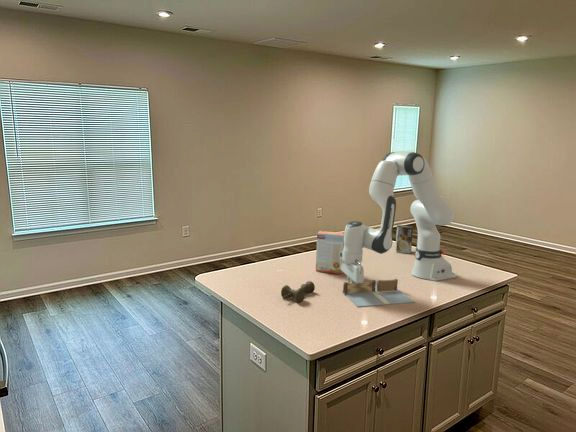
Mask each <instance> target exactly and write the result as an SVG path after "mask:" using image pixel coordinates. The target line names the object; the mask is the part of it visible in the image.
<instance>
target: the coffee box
mask: <svg viewBox="0 0 576 432" xmlns="http://www.w3.org/2000/svg"><path fill="white" fill-rule="evenodd" d="M413 229H414V228H413V226H412V225H400V224H397V225H396V236H395V238H396V239H395V249H394V250H395V252H396V253H401V254H412V245H413Z"/></svg>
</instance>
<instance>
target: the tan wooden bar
mask: <svg viewBox="0 0 576 432" xmlns="http://www.w3.org/2000/svg"><path fill="white" fill-rule="evenodd" d="M342 286H343V289H342V291H343V292H342V293H343V294H344V293H355V292H370V291H375V288H377V280H375V279H372V280H367V281H365V280H364V281H363V283H355V282H348V281H343V284H342Z"/></svg>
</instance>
